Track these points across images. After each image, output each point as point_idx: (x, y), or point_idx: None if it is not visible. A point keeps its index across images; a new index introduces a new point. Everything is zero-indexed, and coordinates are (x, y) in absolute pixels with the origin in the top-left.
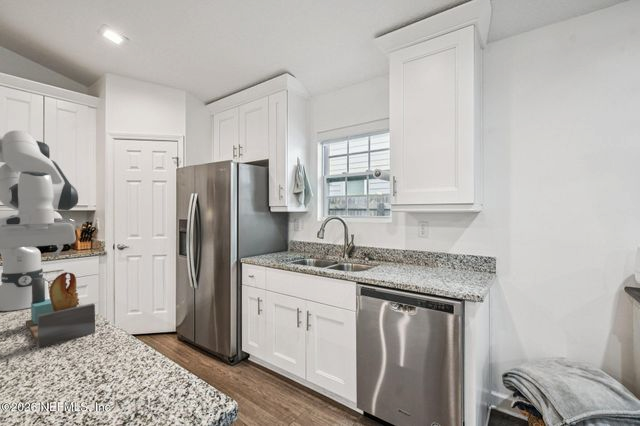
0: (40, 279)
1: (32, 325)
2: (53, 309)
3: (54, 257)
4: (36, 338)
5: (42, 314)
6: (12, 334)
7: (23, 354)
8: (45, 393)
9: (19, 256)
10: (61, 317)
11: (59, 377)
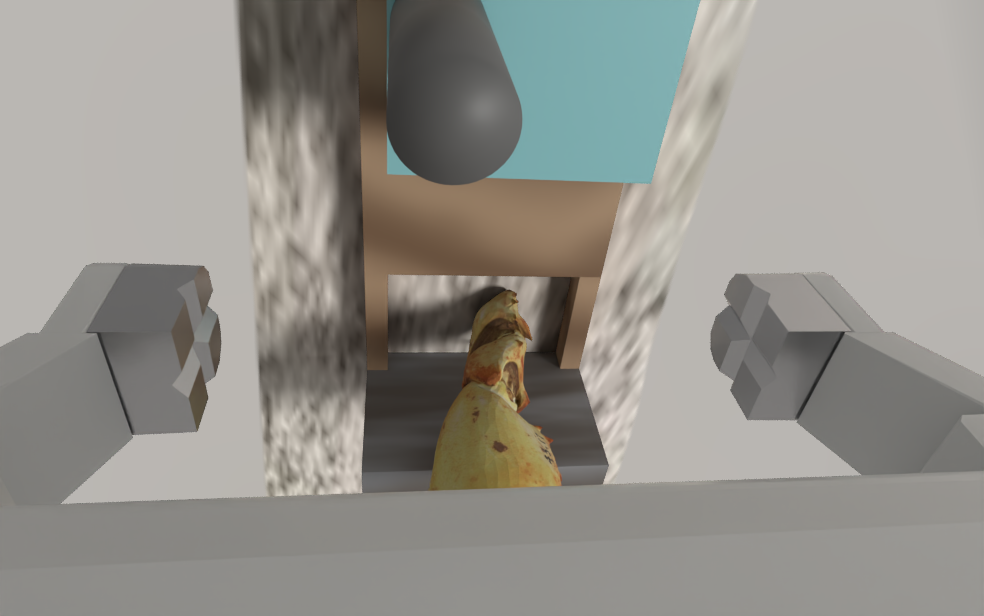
0: (465, 183)
1: (377, 99)
2: (438, 441)
3: (719, 347)
4: (366, 328)
5: (380, 478)
6: (275, 71)
7: (314, 394)
8: None
9: (163, 427)
10: None
11: None
